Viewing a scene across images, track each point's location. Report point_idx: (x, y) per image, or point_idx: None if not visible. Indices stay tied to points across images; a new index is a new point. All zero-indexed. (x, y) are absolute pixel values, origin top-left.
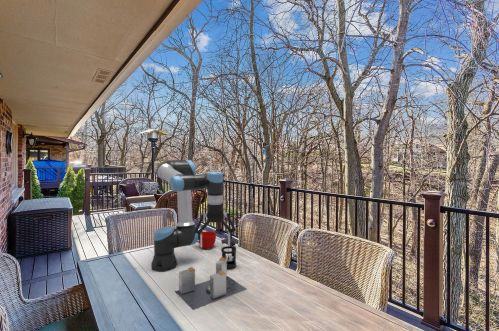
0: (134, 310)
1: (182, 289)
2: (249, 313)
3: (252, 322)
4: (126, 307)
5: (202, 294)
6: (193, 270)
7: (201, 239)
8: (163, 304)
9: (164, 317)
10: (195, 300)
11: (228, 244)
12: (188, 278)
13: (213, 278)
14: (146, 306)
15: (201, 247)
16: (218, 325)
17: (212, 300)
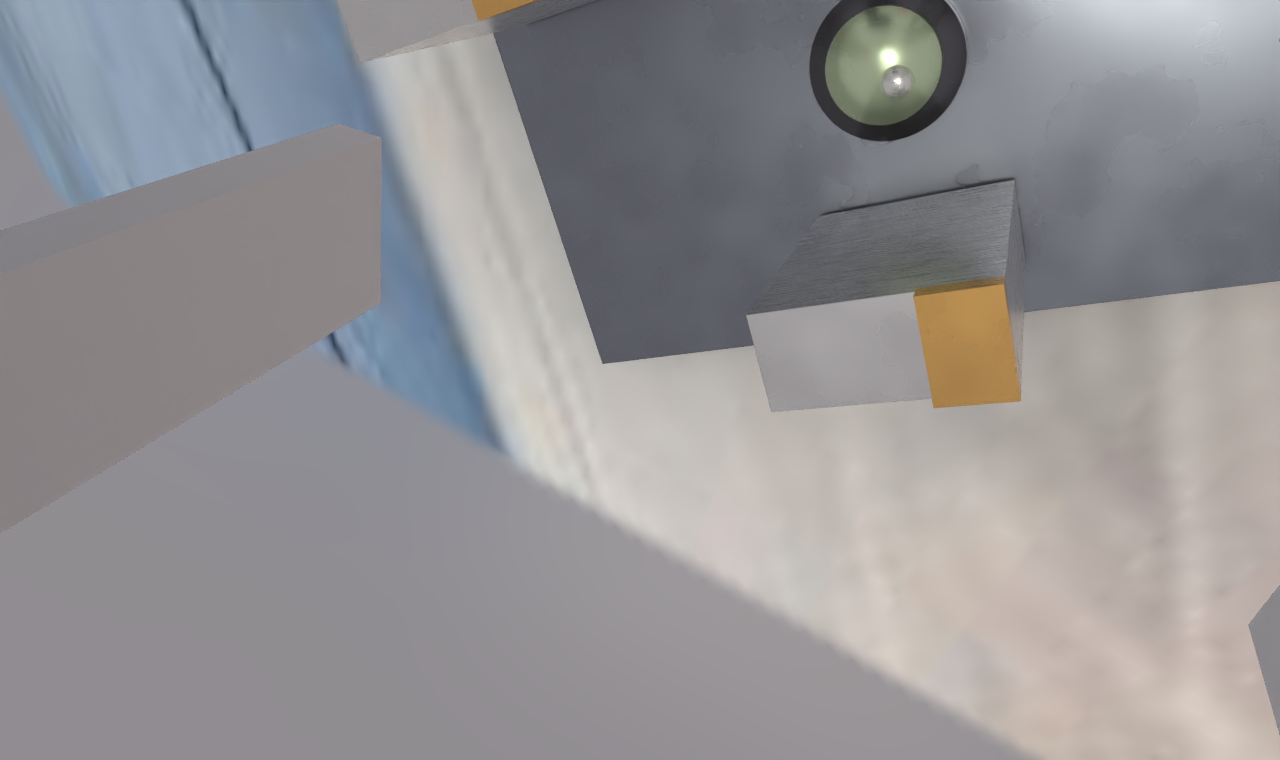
0: (180, 90)
1: (499, 30)
2: (1096, 620)
3: (1040, 713)
4: (109, 8)
5: (747, 122)
6: (529, 3)
7: (164, 414)
8: (377, 94)
9: (403, 302)
10: (649, 216)
11: (1263, 669)
12: (508, 17)
13: (773, 409)
14: (249, 64)
15: (365, 299)
16: (766, 593)
17: None
